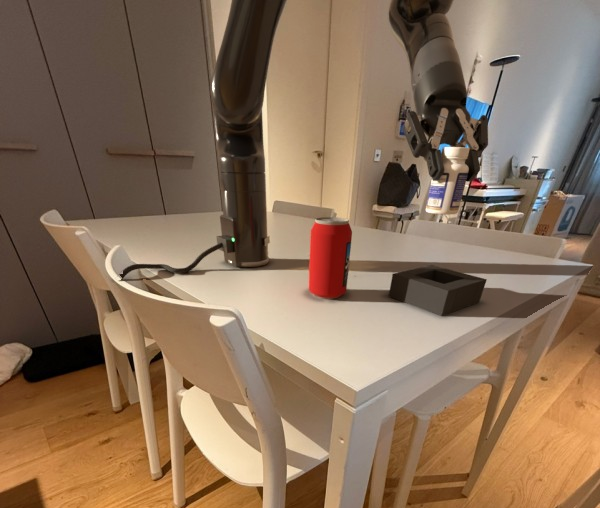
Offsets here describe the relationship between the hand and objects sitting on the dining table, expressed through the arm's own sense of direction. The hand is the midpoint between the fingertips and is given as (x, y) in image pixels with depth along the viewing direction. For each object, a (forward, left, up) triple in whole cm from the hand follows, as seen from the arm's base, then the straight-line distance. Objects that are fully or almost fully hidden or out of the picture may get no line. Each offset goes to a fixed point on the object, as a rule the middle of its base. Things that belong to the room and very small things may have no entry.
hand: (456, 176), depth 52 cm
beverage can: (-17, +9, -18) cm, 27 cm away
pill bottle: (+1, +2, -5) cm, 6 cm away
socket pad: (-3, -3, -18) cm, 19 cm away
